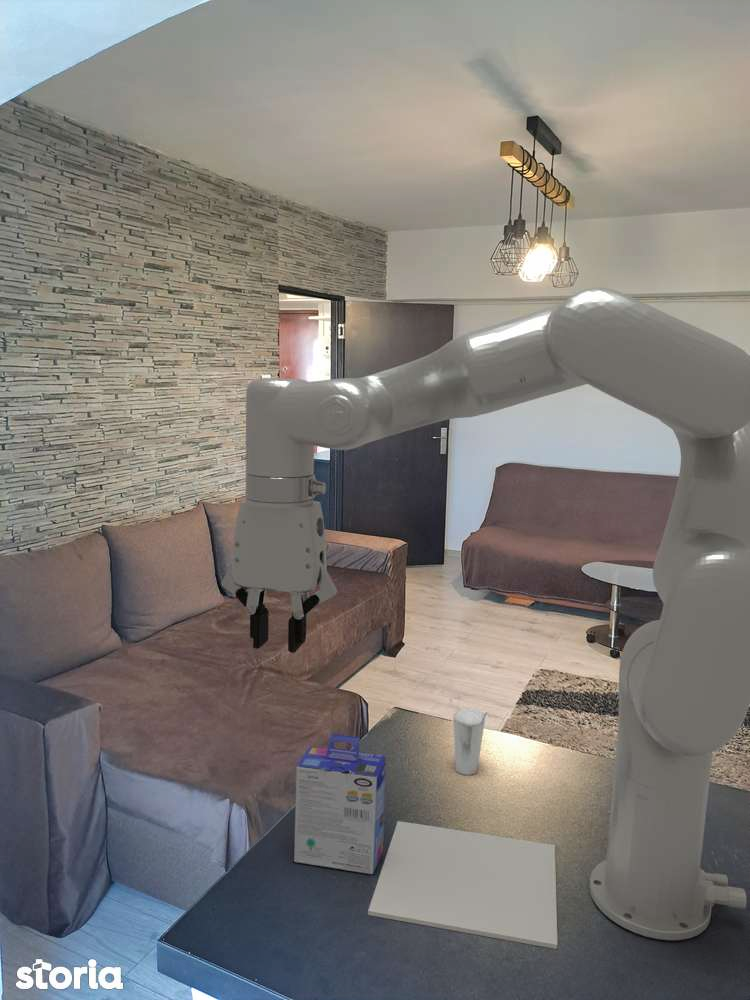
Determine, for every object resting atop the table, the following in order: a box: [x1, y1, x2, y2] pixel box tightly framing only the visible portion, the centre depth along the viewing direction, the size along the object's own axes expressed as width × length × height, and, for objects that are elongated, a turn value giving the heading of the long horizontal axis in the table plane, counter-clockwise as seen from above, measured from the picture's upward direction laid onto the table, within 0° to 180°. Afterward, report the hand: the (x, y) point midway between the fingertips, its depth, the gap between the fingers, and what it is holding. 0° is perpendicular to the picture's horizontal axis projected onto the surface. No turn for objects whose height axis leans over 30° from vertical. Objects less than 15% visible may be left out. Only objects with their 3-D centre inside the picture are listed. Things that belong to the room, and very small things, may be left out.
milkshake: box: [452, 707, 488, 776], centre depth 110 cm, size 4×5×10 cm
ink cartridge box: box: [293, 733, 387, 875], centre depth 89 cm, size 10×6×14 cm, turn 78°
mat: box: [367, 820, 558, 950], centre depth 86 cm, size 20×17×1 cm
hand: (277, 645), depth 88 cm, fingers open, 3 cm apart
